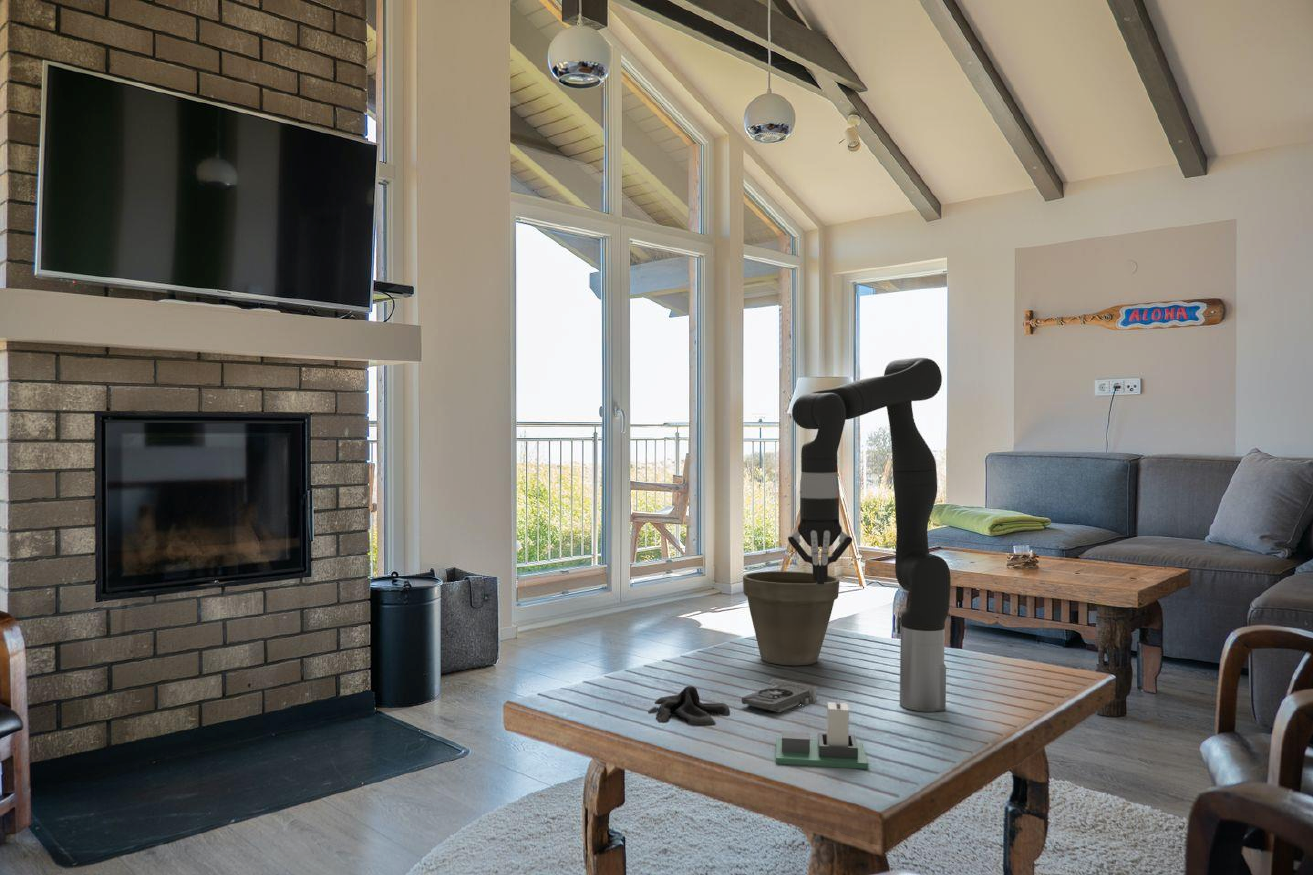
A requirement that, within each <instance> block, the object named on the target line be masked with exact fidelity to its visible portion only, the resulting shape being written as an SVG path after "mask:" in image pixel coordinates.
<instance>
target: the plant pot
mask: <svg viewBox="0 0 1313 875" xmlns="http://www.w3.org/2000/svg"><path fill="white" fill-rule="evenodd" d="M742 583H743V584H742V586H743V587H742V590H743V594H744V596H745V597H746V598H747V603H748V609H749V611H750V612H749V613H750V617H751V620H752V625H753V629H754V634H755V637H756V638H755V639H756V642H757V643H756V644H757V647H758V648H757V649H758V652H759V655H760V658H761V660H762V661H764V662H767V663H768V664H769V663H770V664H775V665H781V666H792V667H794V666H796V667H797V666H808V665H809V666H810V665H812V664H815V663H817V661H818V660H819V656H820V654H821V650H822V647H823V643H824V640H825V637H826V634H827V629H828V626H829V624H830V620H831V619H830V618H831V615H832V612H833V608H834V604H835V601H836V600H837V599H838V598H839V594H840V593H839V591H840V578H839V577H836V576H832V575H829V574H828V579H827V581H824V584H816V581H814V580H813V572H806V571H805V572H804V571H792V570H791V571H788V570H782V571H781V570H774V571H773V570H770V571H769V570H768V571H756V572H750V573H745V574H743V576H742Z"/></svg>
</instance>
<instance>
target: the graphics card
mask: <svg viewBox="0 0 1313 875" xmlns="http://www.w3.org/2000/svg"><path fill="white" fill-rule="evenodd" d="M769 684H770V685H772V686H769V687H767V688H764V689H761V690H758V691H755V692H752V693H750V694H747V695H745V696H742V697H741V704H742V705H749V706H751V707H755V708H759V709H764V710H765V711H764V712H766V713H769V711H772V712H776V713H780V712H783V711H786V710H788V709H791V708H794V707H796V706H797V709H799V708H802V707H805V706H807V705H810V704H813V703H815V701H817V700H818V698H817V697H818V695H817V694H818V691H817V690H818V689H817V688H818V687H817V686H812V685H810V684H805V683H798V682H793V681H788V680H782V679H778V678H772V679H769ZM800 704H801V705H800ZM798 705H800V706H798ZM802 705H803V706H802Z"/></svg>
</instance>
